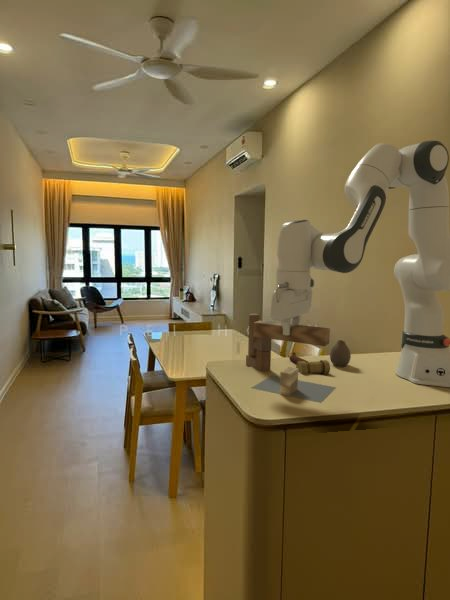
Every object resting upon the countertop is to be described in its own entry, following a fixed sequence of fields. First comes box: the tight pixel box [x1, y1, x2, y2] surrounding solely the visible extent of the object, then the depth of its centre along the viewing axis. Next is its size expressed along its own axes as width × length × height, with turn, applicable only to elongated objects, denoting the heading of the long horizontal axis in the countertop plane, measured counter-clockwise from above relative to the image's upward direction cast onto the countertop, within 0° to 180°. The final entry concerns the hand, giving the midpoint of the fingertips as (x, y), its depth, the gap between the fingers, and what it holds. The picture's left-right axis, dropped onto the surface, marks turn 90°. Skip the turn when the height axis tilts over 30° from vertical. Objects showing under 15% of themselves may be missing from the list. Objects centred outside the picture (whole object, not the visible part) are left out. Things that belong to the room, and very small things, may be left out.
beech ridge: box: [279, 366, 299, 397], centre depth 108 cm, size 3×6×6 cm, turn 149°
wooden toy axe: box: [245, 313, 272, 372], centre depth 131 cm, size 4×11×18 cm, turn 25°
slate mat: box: [251, 375, 337, 404], centre depth 112 cm, size 20×14×1 cm
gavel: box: [288, 354, 331, 375], centre depth 136 cm, size 21×5×10 cm
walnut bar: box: [253, 320, 331, 347], centre depth 106 cm, size 20×4×4 cm, turn 61°
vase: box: [329, 339, 352, 368], centre depth 138 cm, size 7×7×9 cm
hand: (290, 333), depth 106 cm, fingers closed on walnut bar, 4 cm apart
